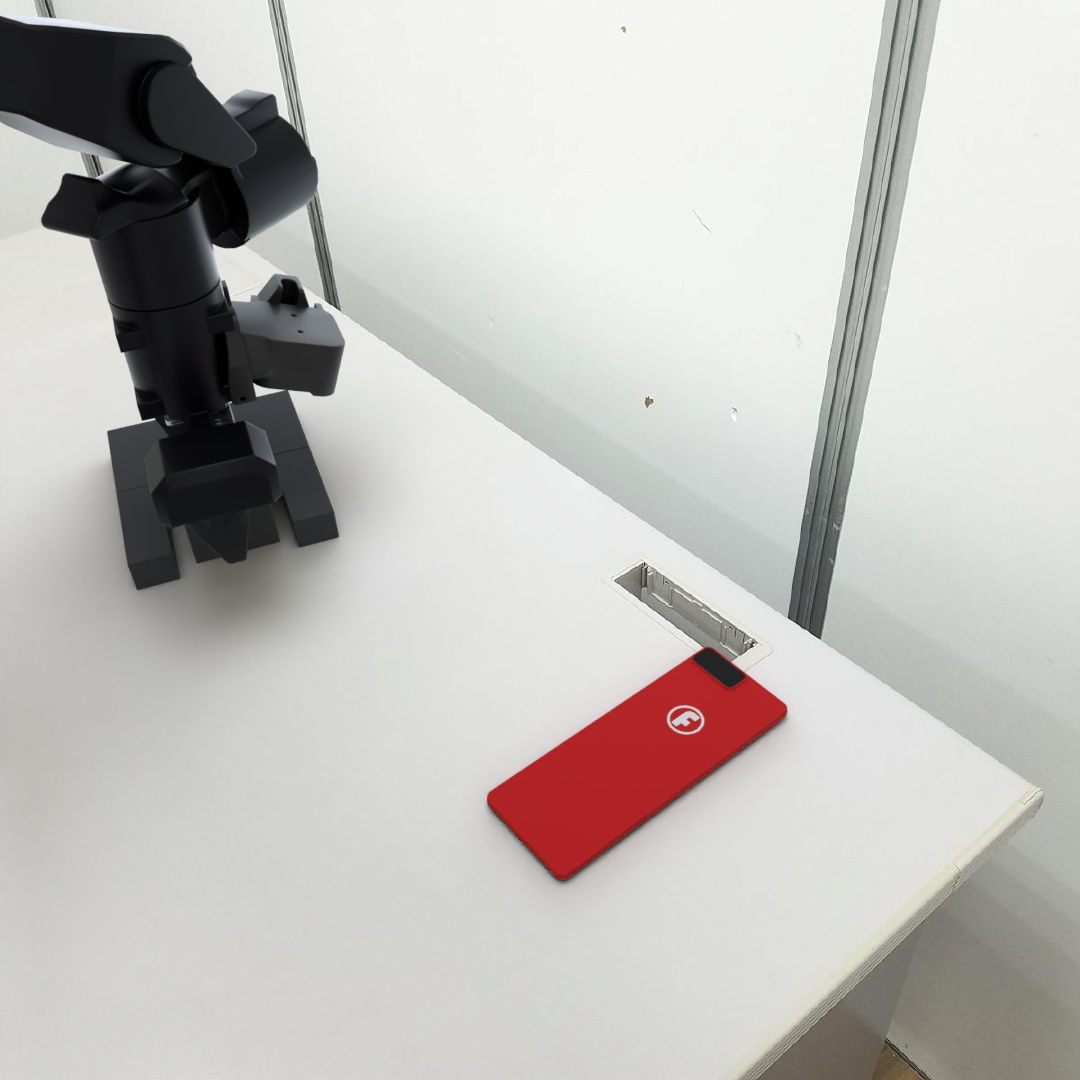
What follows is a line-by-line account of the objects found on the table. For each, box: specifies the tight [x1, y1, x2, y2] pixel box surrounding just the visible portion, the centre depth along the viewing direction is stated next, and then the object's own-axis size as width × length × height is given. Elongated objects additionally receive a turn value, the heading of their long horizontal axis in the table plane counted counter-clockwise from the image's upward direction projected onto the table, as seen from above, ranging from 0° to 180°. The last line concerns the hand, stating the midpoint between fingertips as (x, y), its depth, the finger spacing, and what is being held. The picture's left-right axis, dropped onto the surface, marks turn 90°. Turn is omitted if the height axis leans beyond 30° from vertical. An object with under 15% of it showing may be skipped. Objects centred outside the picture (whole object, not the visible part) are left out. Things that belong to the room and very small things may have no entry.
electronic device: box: [486, 646, 788, 881], centre depth 56 cm, size 6×1×15 cm
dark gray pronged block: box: [106, 390, 340, 590], centre depth 72 cm, size 12×14×2 cm
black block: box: [184, 504, 281, 564], centre depth 69 cm, size 5×5×3 cm
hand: (227, 522), depth 69 cm, fingers open, 7 cm apart
